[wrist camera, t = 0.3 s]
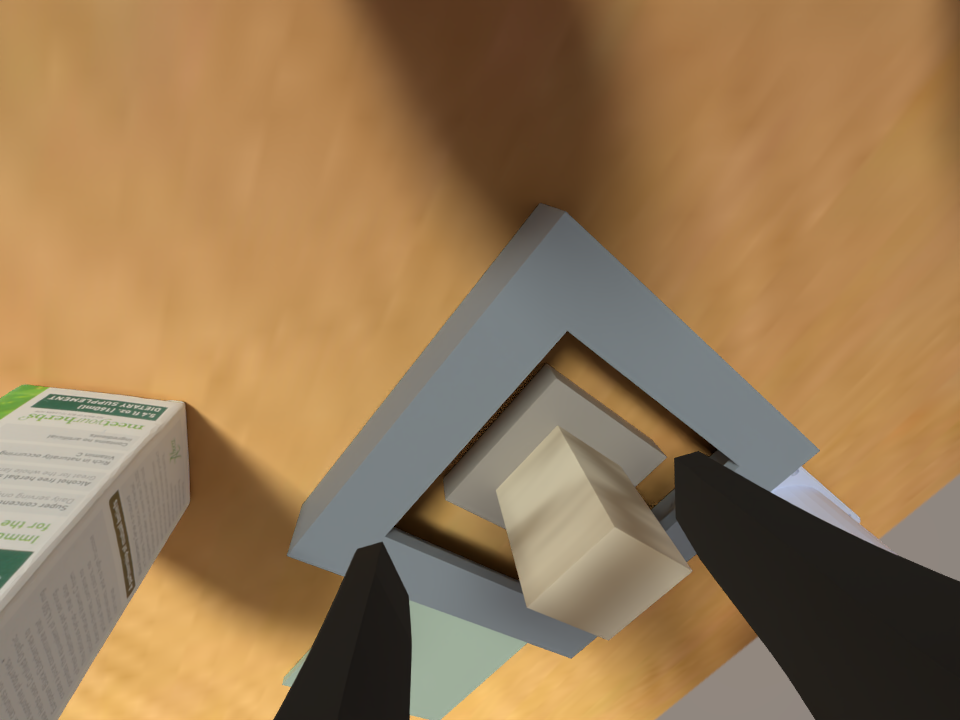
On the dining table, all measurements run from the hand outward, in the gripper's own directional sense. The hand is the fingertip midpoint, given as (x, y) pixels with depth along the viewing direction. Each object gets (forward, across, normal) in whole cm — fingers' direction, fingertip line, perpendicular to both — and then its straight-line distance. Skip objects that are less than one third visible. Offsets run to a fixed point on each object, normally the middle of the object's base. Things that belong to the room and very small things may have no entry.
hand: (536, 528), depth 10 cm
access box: (+10, -2, +7) cm, 12 cm away
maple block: (+8, -2, +7) cm, 11 cm away
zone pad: (+10, +9, +20) cm, 24 cm away
